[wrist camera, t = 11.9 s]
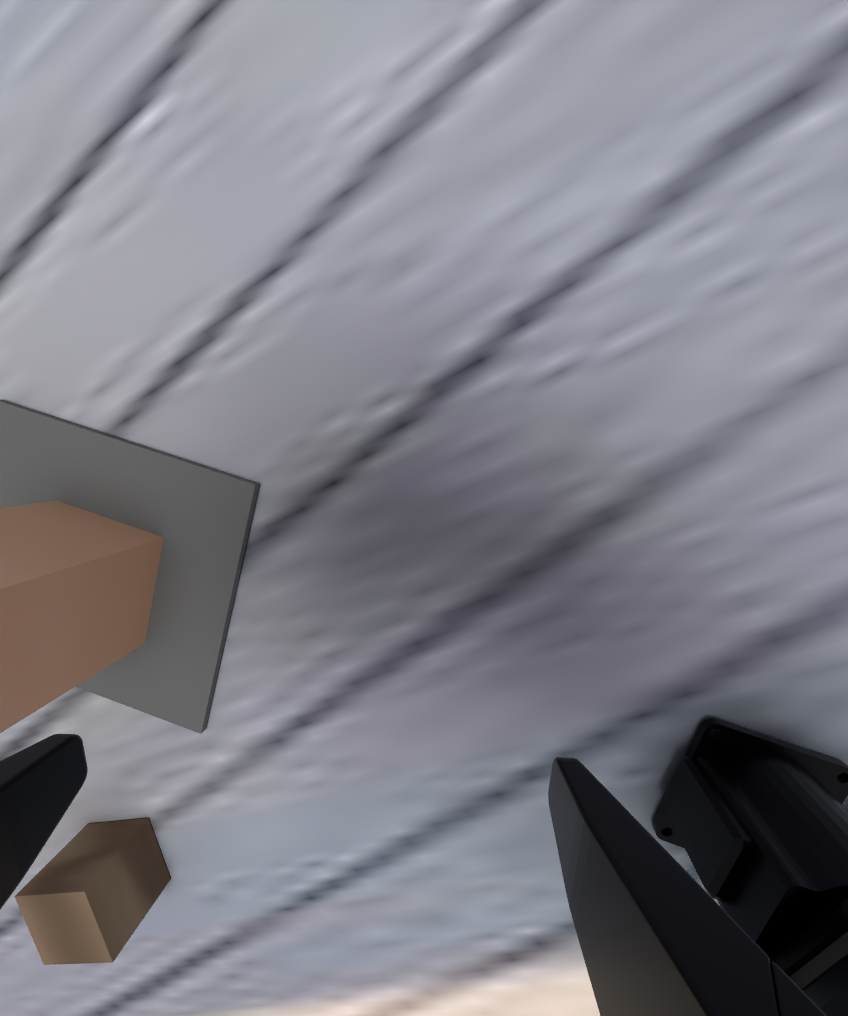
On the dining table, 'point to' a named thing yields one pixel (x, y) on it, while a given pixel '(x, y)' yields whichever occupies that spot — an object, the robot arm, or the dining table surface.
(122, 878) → the stub post
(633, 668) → the dining table surface
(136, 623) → the tan rectangular block
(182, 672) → the rubber mat
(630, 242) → the dining table surface
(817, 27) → the dining table surface
